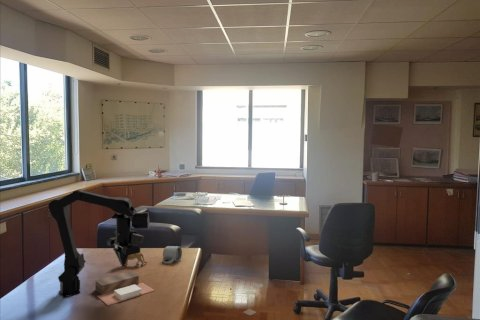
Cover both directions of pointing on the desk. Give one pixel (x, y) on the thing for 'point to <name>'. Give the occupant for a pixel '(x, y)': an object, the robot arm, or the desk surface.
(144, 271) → the desk surface
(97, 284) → the brown long block
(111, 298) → the mat
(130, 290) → the white flat block
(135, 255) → the lion figurine
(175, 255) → the ceramic mug
